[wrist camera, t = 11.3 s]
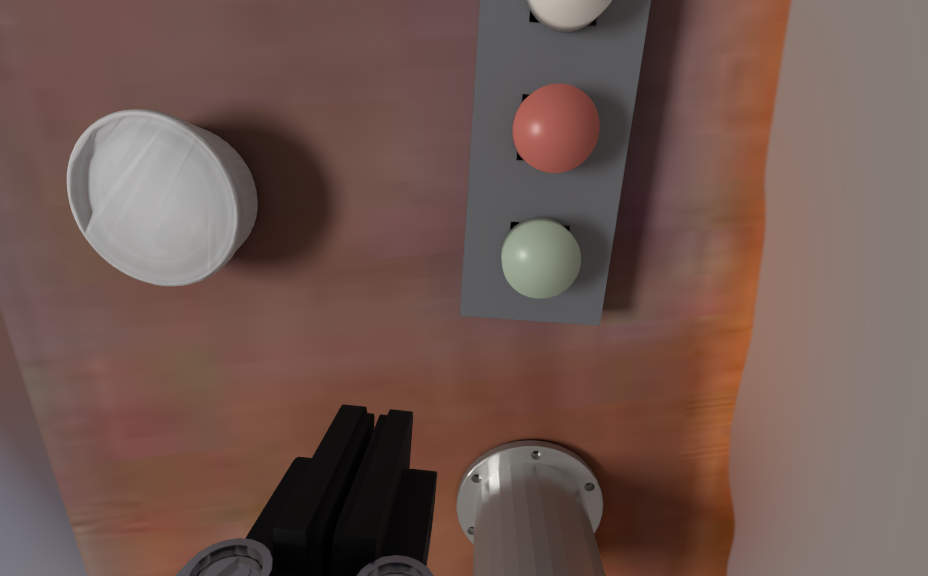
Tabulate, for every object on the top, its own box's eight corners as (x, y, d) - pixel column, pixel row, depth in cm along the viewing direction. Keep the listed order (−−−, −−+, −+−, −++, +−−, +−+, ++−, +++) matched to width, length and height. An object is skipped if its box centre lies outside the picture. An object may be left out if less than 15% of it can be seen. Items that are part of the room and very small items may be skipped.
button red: (577, 169, 34) (593, 175, 29) (506, 165, 34) (510, 170, 30) (587, 93, 33) (605, 86, 28) (512, 88, 33) (518, 80, 28)
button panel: (590, 310, 38) (599, 325, 35) (461, 301, 38) (459, 315, 35) (650, -89, 30) (668, -112, 27) (487, -98, 30) (487, -122, 27)
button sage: (563, 279, 37) (575, 301, 32) (496, 275, 37) (498, 295, 32) (572, 212, 35) (586, 225, 30) (502, 208, 35) (505, 219, 30)
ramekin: (121, 96, 34) (60, 90, 29) (279, 132, 35) (245, 131, 30) (121, 249, 38) (66, 267, 33) (265, 280, 38) (232, 302, 33)
